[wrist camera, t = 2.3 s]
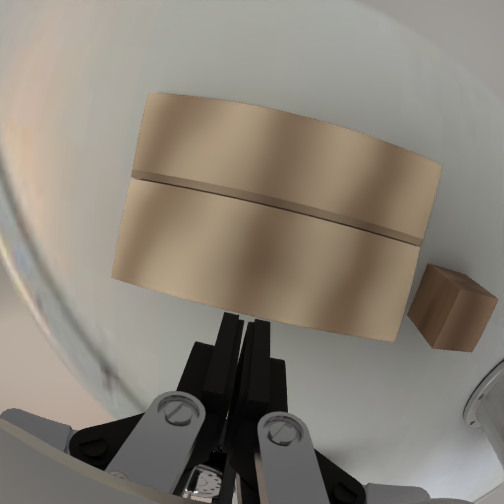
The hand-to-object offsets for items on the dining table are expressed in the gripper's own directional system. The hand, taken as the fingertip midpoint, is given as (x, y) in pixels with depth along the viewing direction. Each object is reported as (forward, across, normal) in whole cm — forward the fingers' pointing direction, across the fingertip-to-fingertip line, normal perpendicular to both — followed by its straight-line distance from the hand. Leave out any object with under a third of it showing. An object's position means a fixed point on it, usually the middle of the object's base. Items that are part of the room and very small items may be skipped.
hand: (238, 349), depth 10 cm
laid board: (+10, -1, -7) cm, 13 cm away
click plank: (+10, -1, 0) cm, 10 cm away
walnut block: (+10, -15, 0) cm, 18 cm away
